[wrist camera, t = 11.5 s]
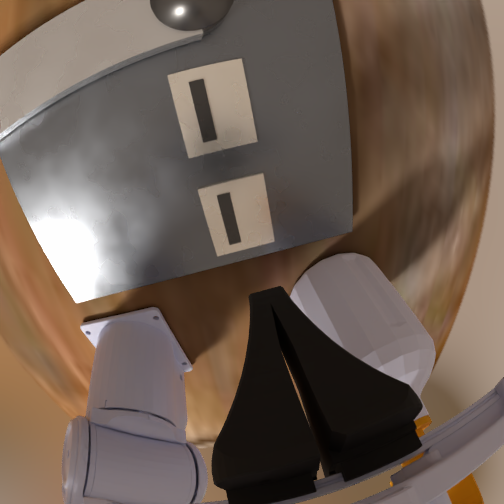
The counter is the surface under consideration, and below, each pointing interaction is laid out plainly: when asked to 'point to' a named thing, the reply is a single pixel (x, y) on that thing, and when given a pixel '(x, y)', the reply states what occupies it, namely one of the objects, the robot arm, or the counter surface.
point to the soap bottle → (374, 331)
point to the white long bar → (95, 48)
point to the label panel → (193, 154)
